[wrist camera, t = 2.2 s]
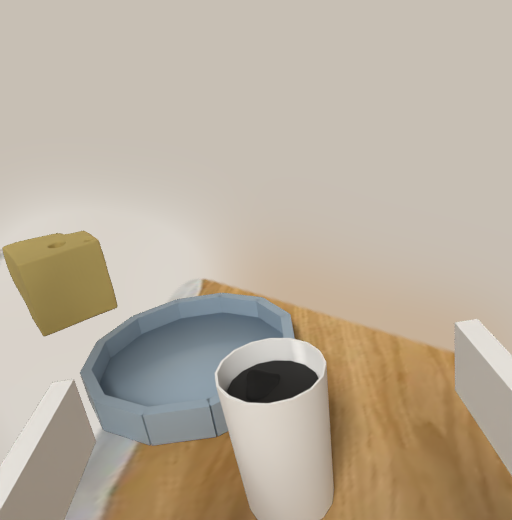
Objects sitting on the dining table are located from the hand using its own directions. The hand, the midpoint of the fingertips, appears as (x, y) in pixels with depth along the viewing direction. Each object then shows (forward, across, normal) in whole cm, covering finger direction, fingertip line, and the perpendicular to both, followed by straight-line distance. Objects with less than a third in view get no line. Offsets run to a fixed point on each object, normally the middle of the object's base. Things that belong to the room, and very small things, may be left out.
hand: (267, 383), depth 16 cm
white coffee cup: (+10, 0, -16) cm, 19 cm away
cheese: (+44, -27, -16) cm, 54 cm away
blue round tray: (+26, -8, -16) cm, 32 cm away
